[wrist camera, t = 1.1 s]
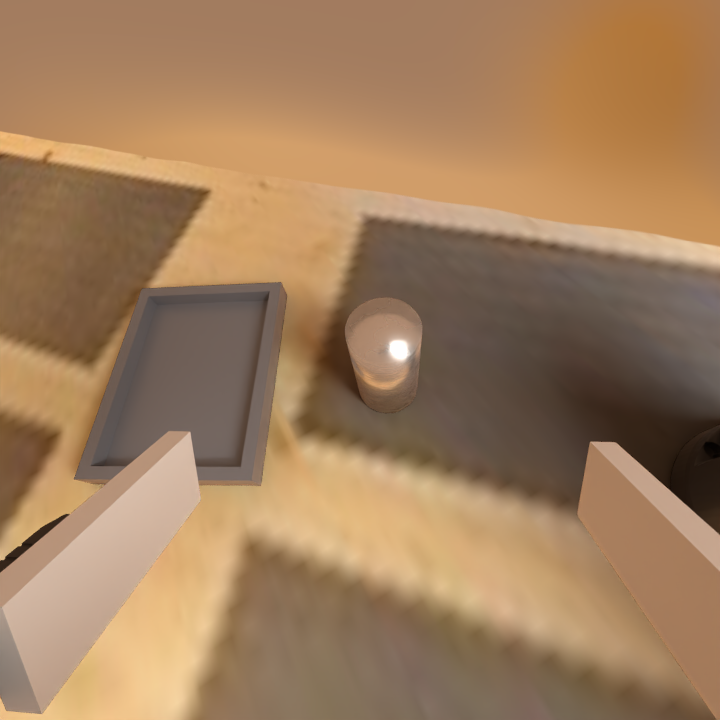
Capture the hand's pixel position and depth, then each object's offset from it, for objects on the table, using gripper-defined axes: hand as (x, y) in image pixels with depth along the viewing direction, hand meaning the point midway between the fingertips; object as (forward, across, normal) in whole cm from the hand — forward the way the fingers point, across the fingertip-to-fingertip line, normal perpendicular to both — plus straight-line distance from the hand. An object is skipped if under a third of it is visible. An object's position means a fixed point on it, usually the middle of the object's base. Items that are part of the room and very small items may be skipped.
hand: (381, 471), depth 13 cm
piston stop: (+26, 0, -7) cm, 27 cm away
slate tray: (+27, -20, -7) cm, 34 cm away
